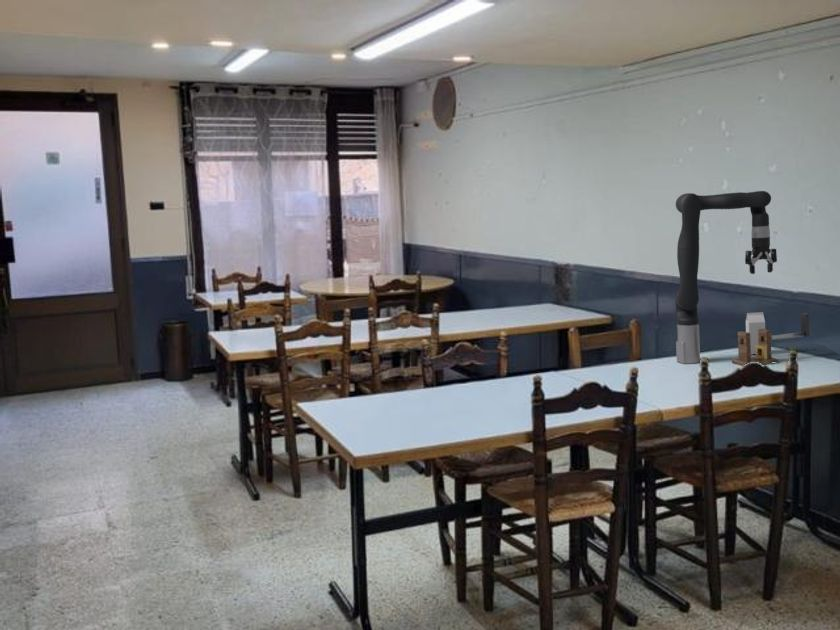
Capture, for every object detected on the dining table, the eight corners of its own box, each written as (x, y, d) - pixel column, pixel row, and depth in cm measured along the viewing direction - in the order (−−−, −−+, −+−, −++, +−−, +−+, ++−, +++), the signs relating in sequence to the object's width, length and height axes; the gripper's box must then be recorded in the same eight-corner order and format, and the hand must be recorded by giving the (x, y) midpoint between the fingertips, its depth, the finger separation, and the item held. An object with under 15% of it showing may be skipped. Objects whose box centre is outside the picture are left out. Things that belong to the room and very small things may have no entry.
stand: (745, 366, 359) (744, 334, 357) (732, 363, 369) (730, 331, 367) (778, 362, 362) (777, 330, 361) (764, 359, 372) (763, 327, 370)
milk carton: (766, 354, 382) (765, 313, 379) (749, 355, 383) (748, 314, 381) (762, 351, 389) (761, 311, 386) (746, 352, 390) (745, 312, 388)
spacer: (764, 359, 363) (763, 346, 362) (755, 357, 369) (755, 344, 368) (767, 359, 363) (766, 345, 363) (758, 357, 369) (758, 343, 368)
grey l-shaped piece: (767, 341, 364) (767, 318, 363) (763, 340, 367) (762, 318, 366) (809, 336, 369) (808, 313, 367) (804, 335, 371) (804, 313, 370)
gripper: (751, 237, 366) (752, 274, 368) (780, 235, 369) (780, 272, 371) (741, 237, 373) (741, 273, 375) (769, 235, 376) (770, 271, 378)
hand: (761, 273), depth 373 cm, fingers open, 8 cm apart
